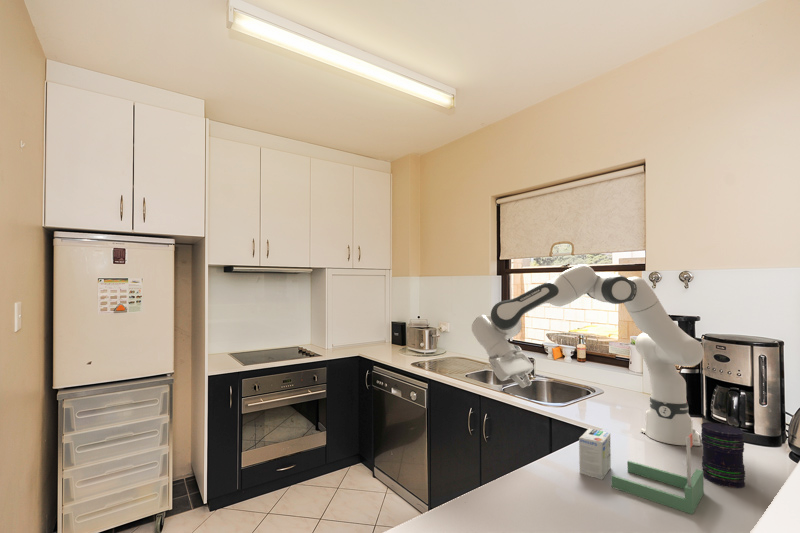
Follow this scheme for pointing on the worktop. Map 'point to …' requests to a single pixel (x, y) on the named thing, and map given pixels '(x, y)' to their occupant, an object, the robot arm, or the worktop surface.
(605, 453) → the light bulb box
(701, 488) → the putting bay
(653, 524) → the worktop surface
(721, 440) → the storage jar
